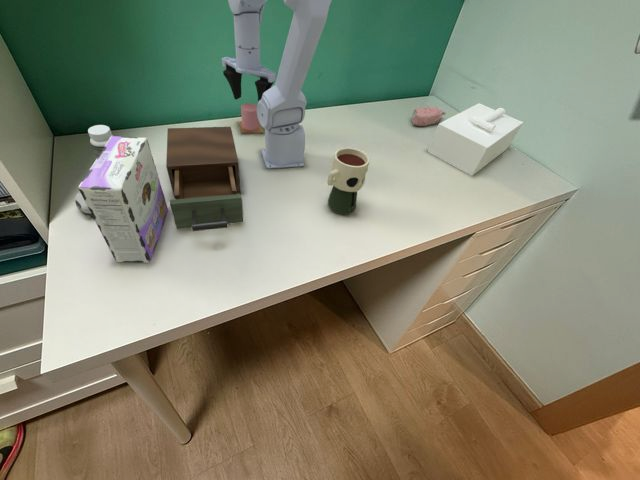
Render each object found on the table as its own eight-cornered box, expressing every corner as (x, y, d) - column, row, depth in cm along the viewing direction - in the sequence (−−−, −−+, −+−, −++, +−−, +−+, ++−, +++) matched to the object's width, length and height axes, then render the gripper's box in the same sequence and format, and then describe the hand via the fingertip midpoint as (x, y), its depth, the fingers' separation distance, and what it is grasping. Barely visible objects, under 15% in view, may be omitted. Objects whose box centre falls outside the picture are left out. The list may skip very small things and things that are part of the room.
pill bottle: (115, 171, 72) (101, 137, 66) (95, 167, 73) (80, 132, 66) (128, 160, 76) (116, 126, 70) (109, 156, 76) (95, 122, 70)
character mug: (333, 225, 69) (344, 174, 59) (312, 206, 72) (319, 155, 63) (369, 207, 74) (383, 158, 65) (348, 190, 78) (359, 141, 68)
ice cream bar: (453, 111, 107) (421, 116, 101) (448, 123, 110) (416, 129, 104) (440, 102, 110) (408, 107, 104) (435, 114, 114) (403, 119, 107)
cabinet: (240, 193, 72) (238, 162, 66) (174, 198, 69) (166, 166, 63) (233, 156, 82) (230, 126, 76) (174, 159, 78) (167, 128, 72)
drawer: (246, 239, 62) (245, 214, 58) (176, 247, 59) (169, 222, 54) (235, 181, 74) (233, 157, 69) (176, 185, 70) (170, 160, 66)
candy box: (138, 209, 65) (110, 133, 53) (169, 210, 66) (148, 136, 54) (114, 263, 56) (74, 186, 44) (151, 263, 57) (121, 188, 45)
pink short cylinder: (262, 125, 93) (262, 106, 89) (253, 132, 90) (252, 113, 86) (248, 120, 94) (247, 101, 90) (238, 126, 91) (237, 107, 87)
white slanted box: (427, 151, 95) (441, 115, 87) (466, 128, 109) (482, 95, 101) (471, 175, 89) (491, 139, 81) (507, 148, 102) (527, 114, 94)
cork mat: (259, 122, 95) (259, 120, 94) (263, 133, 91) (263, 131, 91) (238, 123, 93) (238, 121, 93) (241, 134, 89) (241, 132, 89)
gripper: (211, 41, 76) (217, 99, 86) (264, 57, 73) (264, 116, 82) (230, 34, 81) (234, 90, 90) (280, 50, 77) (279, 106, 87)
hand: (249, 102), depth 87 cm, fingers open, 7 cm apart
